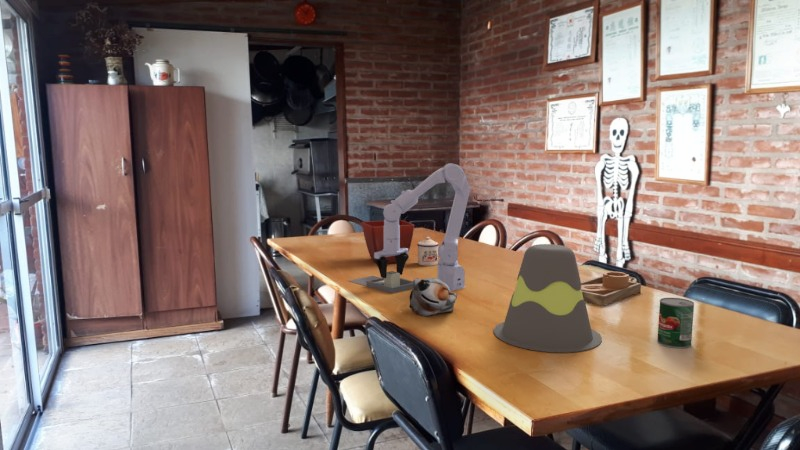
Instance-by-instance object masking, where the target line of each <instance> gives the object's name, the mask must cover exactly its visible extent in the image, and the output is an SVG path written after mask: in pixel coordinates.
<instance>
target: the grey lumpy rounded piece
mask: <svg viewBox="0 0 800 450" xmlns="http://www.w3.org/2000/svg"><path fill="white" fill-rule="evenodd" d="M412 281H413V289H411V291H410V294H409V305H408V307H409V308H410V309H412V312H413V313H414V314H415V315H419V316H422V317H423V316H424V317H429V316H431V315H436V314H440V313H447V312H448V313H450V312H453V311H454V309H455V308H454V307H455V303H456V300H457V298H458V294H457V293H455V291H450V288H449V286H448V285H447V284H445V283H443V282H442V281H441V280H439V279H437V278H435V277H426V278H423V279H419V278H418V277H416V278H414V279H413V280H412Z"/></svg>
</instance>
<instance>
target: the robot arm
mask: <svg viewBox="0 0 800 450" xmlns="http://www.w3.org/2000/svg"><path fill="white" fill-rule="evenodd" d="M446 181H447V182H448V183H449V184H450V185H451V187H452V188H453V189H454V192H455V194H454V198H453V203H452V205H451V210H450V213H449V217H448V218H449V219H448V221H447V227H446V230H445V234H444V237H443V239H442V242H441V244H440V245H438V246H439V248H438V256H440V258H439V259H438V264H437V278H436V279H439V280H441V281H442V282H443V283H445V284H447V285H448V286H449V288H450V292H455V291H457V290H462V289H465V288H467V287H466V286H465V285H466V284H465V282H466V281H465V280H466V279H465V278H466V277H465V276H466V275H465V274H466V273H465V272H466V271H465V268H464V267H463V266H462V265H460V264H459V261H458V258H459V252H458V247H459V238H460V234H461V230H462V225H463V222H464V221H463V220H464V218H465V213H466V209H467V206H468V200H469V198H470V193H471V187H470V185H469V182H468V179H467V176H466V172H465V171H464V169H462V167H461V166H460V165H458V164H455V163H452V162H451V163H447V164H445V165H444V166H443V167H441V168H438V169H437V170H436V171H434V172H433V173H431V174H430V175H429V176H428V177H427V178H426V179H424V180H423V181H422V182H421V183H420V184H418V185H417V186H416V187H414V189H407V190H402V191H401V192H400V193H401V194H400V195H399V196H398V197H396V198H395V200H393V199H392V200H390V203H388V204H387V205H386V206H385V207H384V209H383V211H382V213H383V218H384V219H383V221H384V249H383V250H382V251H379V252H375V253H374V260H375V261H374V260H373V261H374V262H375V263H376V266H377V268H378V271H379V274H380V278H386V276H387V272H388V264H389V263H388V261H389V260H388V259H386V258H385V257H389V256H395V259H396V262H395V266H396V272H397V273H400V276H402V275H403V272H404V268H405V266H406V263H407V261H408V260H409V257H410V255H409V253H408V248H400V225H399V220H400V217H401V214H405V213H406V212H408V211H409V210H410V209H411V208H412V207H414V206H415V205H417V204H418V202H419V197H421V196H422V195H424V194H425V193H426V192H427V191H429V190H430V189H432V188H433V187H434V186H435V185H437V184H444V183H446ZM406 254H408V255H406Z"/></svg>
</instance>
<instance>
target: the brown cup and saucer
mask: <svg viewBox="0 0 800 450" xmlns="http://www.w3.org/2000/svg"><path fill="white" fill-rule="evenodd" d="M602 277H603V283H602V284H589V285H581V291H585V292H590V293H595V294H600V295H605V294H608V293H611V292H614V291H617V290H620V289H622V288H625V287H628V283H629V278H630V274H627V273H626V272H622V271H604V272H602Z"/></svg>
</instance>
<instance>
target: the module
mask: <svg viewBox="0 0 800 450" xmlns="http://www.w3.org/2000/svg"><path fill="white" fill-rule="evenodd" d="M400 278H401V275H400V273H397V271H395V270H391V271H387V276H386V278H384V285H386V286H390V287H396V286H400Z"/></svg>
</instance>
